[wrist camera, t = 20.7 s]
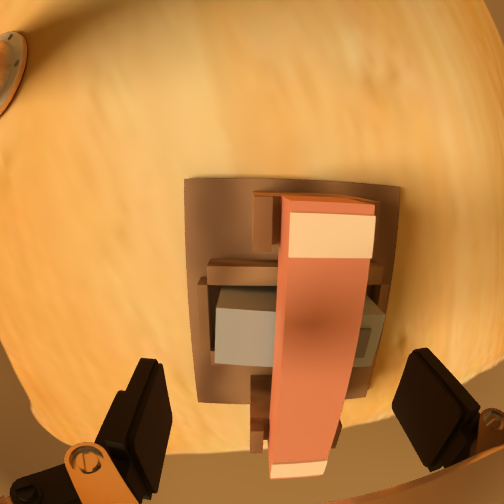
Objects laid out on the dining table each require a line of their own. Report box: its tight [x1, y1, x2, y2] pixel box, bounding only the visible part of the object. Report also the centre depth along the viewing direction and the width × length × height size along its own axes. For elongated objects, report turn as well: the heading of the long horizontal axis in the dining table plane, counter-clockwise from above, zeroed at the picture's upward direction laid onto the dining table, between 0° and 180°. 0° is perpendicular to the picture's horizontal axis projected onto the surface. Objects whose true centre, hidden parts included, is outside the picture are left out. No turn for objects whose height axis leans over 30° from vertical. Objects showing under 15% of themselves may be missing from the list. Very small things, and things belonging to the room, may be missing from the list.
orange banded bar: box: [268, 195, 376, 479], centre depth 17 cm, size 4×20×5 cm, turn 179°
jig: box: [184, 178, 400, 453], centre depth 22 cm, size 18×22×9 cm
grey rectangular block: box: [215, 285, 385, 367], centre depth 23 cm, size 12×4×6 cm, turn 86°
